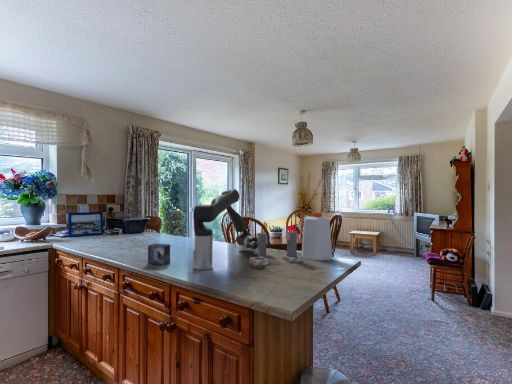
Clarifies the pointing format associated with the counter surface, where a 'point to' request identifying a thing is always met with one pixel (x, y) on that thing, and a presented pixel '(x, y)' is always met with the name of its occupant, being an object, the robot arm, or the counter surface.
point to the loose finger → (261, 244)
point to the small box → (159, 254)
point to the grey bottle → (316, 238)
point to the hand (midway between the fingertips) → (261, 246)
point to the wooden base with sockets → (272, 261)
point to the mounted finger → (291, 244)
